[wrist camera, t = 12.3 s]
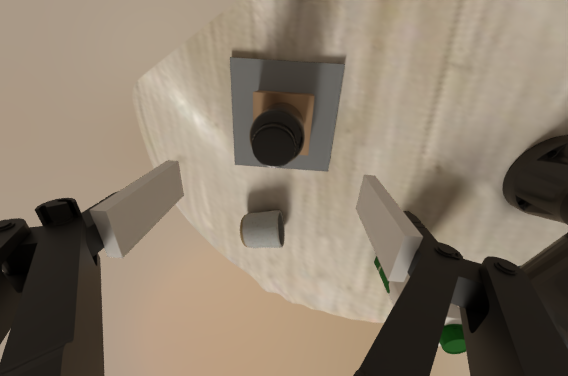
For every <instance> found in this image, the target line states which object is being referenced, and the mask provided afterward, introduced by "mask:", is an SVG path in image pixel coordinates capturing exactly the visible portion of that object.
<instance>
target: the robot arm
mask: <svg viewBox="0 0 568 376" xmlns="http://www.w3.org/2000/svg"><path fill="white" fill-rule="evenodd" d="M503 194H504V197H505V199H506V200H507V201H508V203H510V204H511V205H512V206H514V207H516V208H517V209H519V210H521V211H523V212H525V213H527V214H531V215H535V216H539V217H543V218H546V219H550V220H554V221H558V222H562V223H565V224H567V225H568V135H565V136H559V137H555V138H552V139H549V140H546V141H544V142H542V143H540V144H538V145H536V146H534V147H533V148H531V149H530V150H528V151H527V152H525V153H524V154H523V155H522V156H521V157H520V158H519V159H518V160H517V161H516V162H515V163H514V164H513V165H512V167H511V168H510V169H509V171H508V173H507V175H506V177H505V180H504V183H503ZM183 196H184V193H183V187H182V181H181V174H180V168H179V162H178V161H169V160H168V161H166V162H164V163H163V164H161V165H160V166H158V167H156V168H155V169H153V170H152V171H150V172H149V173H147V174H146V175H144V176H142V177H141V178H139V179H138V180H136V181H135V182H133V183H131V184H130V185H128V186H126V187H125V188H123V189H122V190H120V191H118V192H115V193H113V194H111V195H110V196H108V197H106V198H105V199H103V200H101V201H100V202H99V203H97V204H95V205H94V206H92V207H90V208H89V209H87V210H86V211H84V212H82V213H81V212H80V210H79V207H78V205H77V202H76V200H75V199H72V198H61V199H55V200H52V201H49V202H46V203H43V204H41V205H39V206H37V208H36V209H35V211H36V213H37V215H38V217H39V219H40V221H41V223H42V225H43V226H39V227H30V228H29V227H28V225H27V223H26V221H25V220H24V219H19V218H18V219H9V220H2V221H0V344H1V342H2V341H3V339H4V338H5V336H6V335H7V333H8V332H9V330H10V328H11V330H10V333H9V336H8V340H7V343H6V346H5V349H4V352H3V355H2V359H1V362H0V376H104V352H103V327H102V326H103V324H102V296H101V268H100V257H99V255H98V252H99V251H101V250H102V249H103V248H105V251H106V253H107V256H108V257H116V258H123V257H124V256H125V255H126V254H127V253H128V252H129V251H130V250H131V249H132V248H133V247H134V246H135V245H136V244H137V243H138V242H139V241H140V240H141V239H142V238H143V237H144V236H145V235H146V234H147V233H148V232H149V231H150V230H151V228H153V226H154V225H155V224H156V223H157V222H158V221H159V220H160V219H161V218H162V217H163V216H164V215H165V214H166V213H167V212H168V211H169V210H170V209H171V208H172V207H173V206H174V205H175V204H176V203H177V202H178V201H179V200H180V199H181V198H182V197H183ZM356 210H357V212H358V215H359V217H360V219H361V221H362V224H363V226H364V228H365V230H366V233H367V235H368V237H369V239H370V242H371V244H372V246H373V248H374V251H375V253H376V255H377V257H378V260H379V262H380V264H381V266H382V269H383V271H384V273H385V275H386V278H387V280H388V281H395V282H404V281H405V278H406V276H407V274H409V276H410V278H409V280H408V281H407V283H406V285H405V287H404V289H403V290H402V292H401V294H400V296H399V298H398V299H397V301H396V303H395V305H394V307H393V308H392V310H391V312H390V314H389V316H388V317H387V319H386V321H385V323H384V325H383V327H382V328H381V330H380V332H379V334H378V336H377V337H376V339H375V341H374V343H373V345H372V347H371V348H370V350H369V352H368V354H367V355H366V357H365V359H364V361H363V363H362V365H361V367H360V368H359V369H358V370H357V371H356V372H355V374H354V375H353V376H430V372H431V369H432V365H433V362H434V358H435V355H436V352H437V348H438V345H439V341H440V338H441V335H442V331H443V328H444V324H445V321H446V317H447V314H448V311H449V307H450V304H454V305H457V306H459V308H460V315H461V321H462V327H463V333H464V339H465V345H466V351H467V357H468V363H469V370H470V376H568V233H567V234H565V235H564V236H562V237H561V238H559V239H558V240H557V241H555V242H554V243H552V244H551V245H550V246H548V247H547V248H545V249H544V250H543V251H541V252H540V253H539V254H537V255H536V256H534V257H533V258H532V259H530V260H529V261H527V262H526V263H525V264H523V265H522V266H517V265H515V264H513V263H511V262H510V261H507V260H504V259H501V258H497V257H487V258H485V259H484V261H483V262H482V264H480V263H476V262H472V261H469V260H465V259H463V256H462V255H461V254H460V252H458V251H457V250H456V249H454V248H453V247H451V246H449V245H446V244H443V243H439V242H437V240H436V239H435V238H434V237H433V236H432V234H431V233H430V232H429V231H428V230H427V229H426V228H425V226H424V225H423V224H421V222H420V220H419V219H418V218H417V217H416V216H415V215H413V214H412V213H410V212H409V211H402V209H401V208H400V207H399V206H398V204H397V203H396V202H395V201H394V199H393V198H392V197H391V196H390V194H389V193H388V192H387V190H386V189H385V188H384V187H383V185H382V184H381V183H380V182H379V180H378V179H377V178H376V176H372V175H364V176H363V181H362V185H361V189H360V193H359V198H358V202H357V206H356ZM2 270H3V271H4V272H3V271H2Z"/></svg>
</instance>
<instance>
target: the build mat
mask: <svg viewBox="0 0 568 376" xmlns="http://www.w3.org/2000/svg"><path fill="white" fill-rule="evenodd" d="M344 65H345V64H332V63H315V62H298V61H282V60H265V59H248V58H232V57H230V70H231V92H232V113H233V134H234V155H235V165H245V166H259V167H267V166H264V165H263V164H261V163H260V162H259V161H258V160H257V159H256V158H255V156H254V154H253V150H252V147H251V145H250V140H249V132H250V128H251V125H252V123H253V92H255V91H258V90H261V91H276V92H292V93H308V94H313V95H314V96H315V97H314V106H313V115H312V124H311V134H310V143H309V152H308V155H298V156H297V157H296V158H295V159H294V160H293V161H291V162H289V163H288V164H286V165H284V166H281V167H277V168H287V169H301V170H315V171H328V168H329V162H330V155H331V149H332V142H333V136H334V130H335V123H336V117H337V110H338V104H339V97H340V91H341V84H342V78H343V72H344ZM273 168H274V167H273Z"/></svg>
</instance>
